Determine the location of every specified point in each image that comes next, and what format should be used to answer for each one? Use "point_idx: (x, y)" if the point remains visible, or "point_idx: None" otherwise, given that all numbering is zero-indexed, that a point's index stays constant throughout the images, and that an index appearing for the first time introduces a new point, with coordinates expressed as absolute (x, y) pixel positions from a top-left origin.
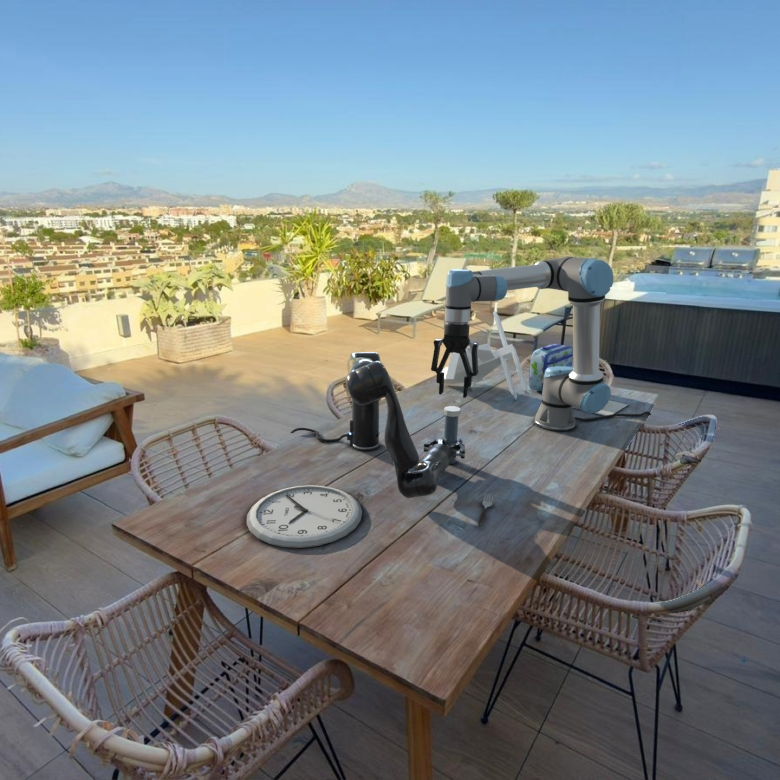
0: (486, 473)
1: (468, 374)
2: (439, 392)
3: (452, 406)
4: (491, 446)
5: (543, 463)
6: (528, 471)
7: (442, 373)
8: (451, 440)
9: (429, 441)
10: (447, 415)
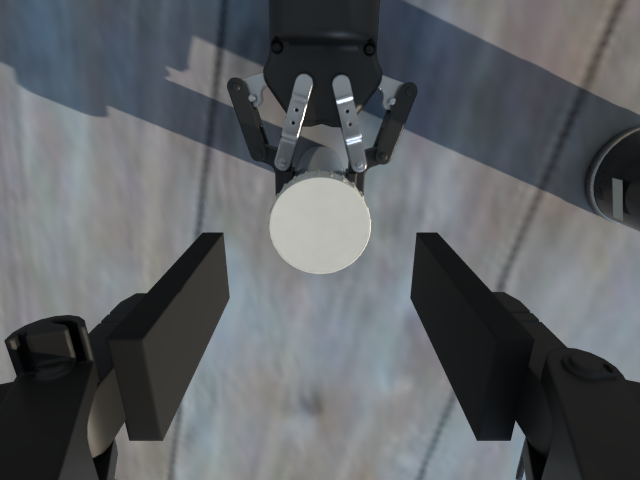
0: (180, 128)
1: (50, 380)
2: (436, 238)
3: (330, 266)
4: (229, 328)
5: (51, 272)
6: (69, 199)
7: (498, 391)
8: (309, 159)
9: (399, 127)
10: (336, 174)
